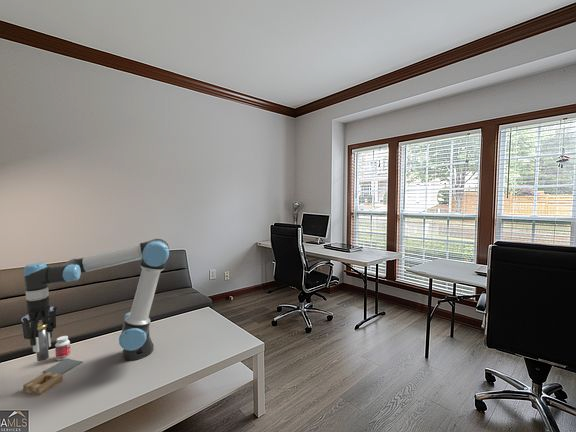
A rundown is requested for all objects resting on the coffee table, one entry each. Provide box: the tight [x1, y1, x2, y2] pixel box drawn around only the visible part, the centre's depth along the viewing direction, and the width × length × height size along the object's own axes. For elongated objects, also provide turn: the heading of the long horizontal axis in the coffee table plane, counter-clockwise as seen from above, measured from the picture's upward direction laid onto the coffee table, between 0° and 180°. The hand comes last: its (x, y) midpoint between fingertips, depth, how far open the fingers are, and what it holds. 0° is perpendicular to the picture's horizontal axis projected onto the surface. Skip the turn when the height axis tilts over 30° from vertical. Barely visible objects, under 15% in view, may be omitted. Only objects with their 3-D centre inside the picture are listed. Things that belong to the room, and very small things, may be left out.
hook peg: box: [35, 322, 50, 362], centre depth 123 cm, size 5×5×16 cm
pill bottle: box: [54, 335, 72, 362], centre depth 147 cm, size 6×6×11 cm
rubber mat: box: [43, 358, 83, 376], centre depth 139 cm, size 11×11×1 cm
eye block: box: [22, 372, 64, 396], centre depth 124 cm, size 10×10×3 cm
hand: (42, 348), depth 124 cm, fingers closed on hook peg, 4 cm apart
